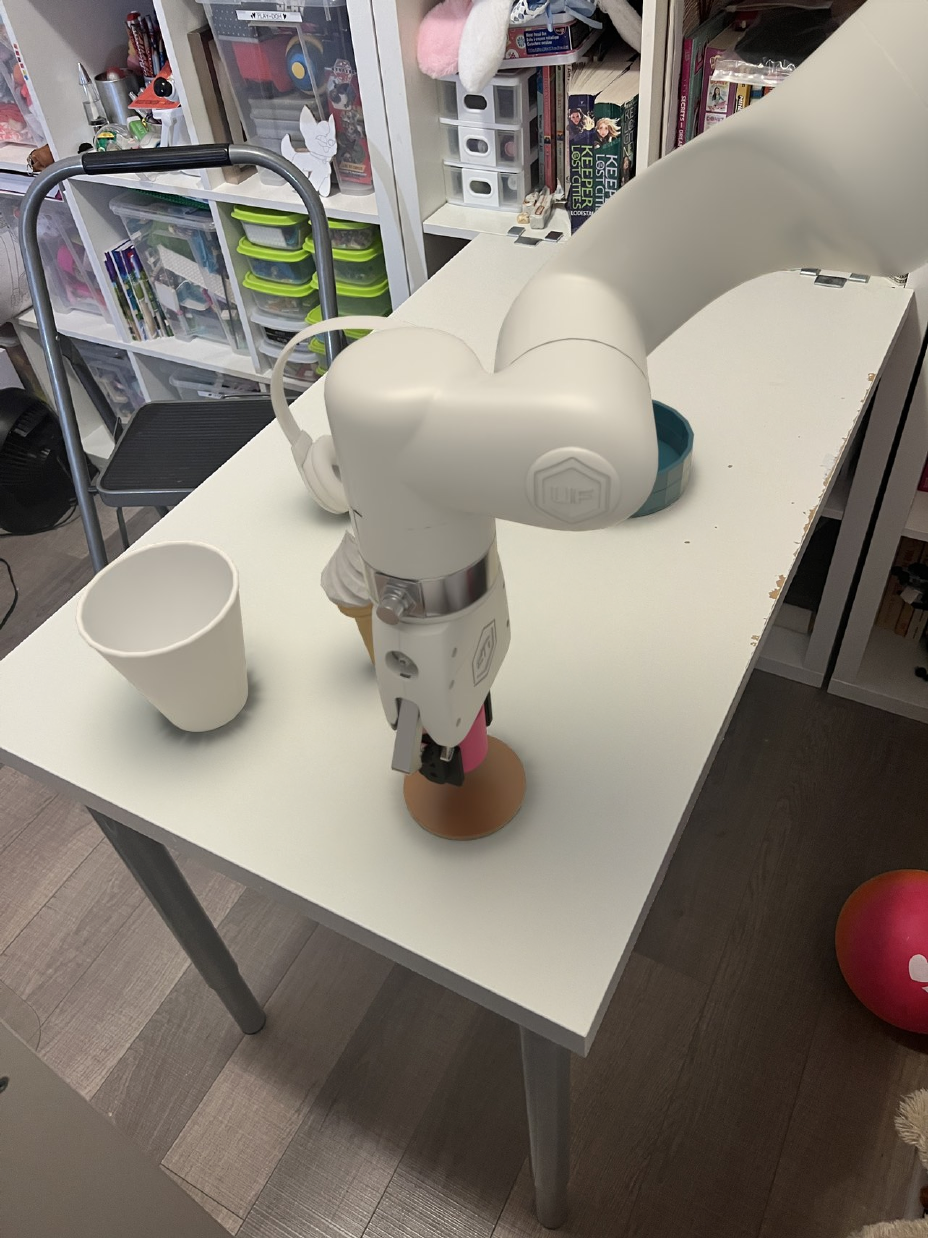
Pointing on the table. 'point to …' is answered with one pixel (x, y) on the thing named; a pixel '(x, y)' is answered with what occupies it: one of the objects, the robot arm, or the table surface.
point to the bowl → (669, 458)
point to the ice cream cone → (349, 588)
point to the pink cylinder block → (474, 743)
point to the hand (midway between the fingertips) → (456, 746)
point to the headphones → (320, 456)
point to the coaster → (470, 797)
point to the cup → (172, 629)
